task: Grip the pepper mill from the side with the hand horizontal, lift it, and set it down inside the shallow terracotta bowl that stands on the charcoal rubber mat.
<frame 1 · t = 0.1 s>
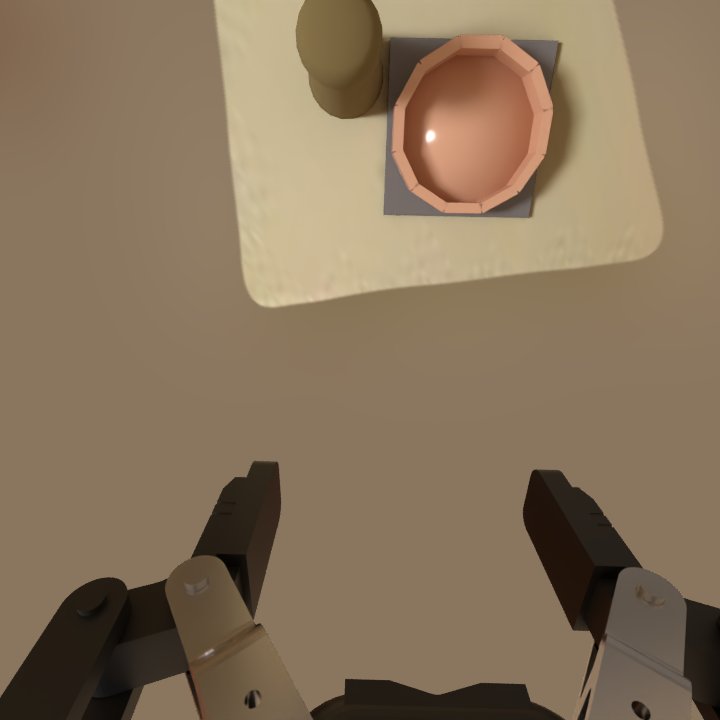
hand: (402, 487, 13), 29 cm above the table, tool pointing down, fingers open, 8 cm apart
mat: (463, 134, 35), on the table
pepper mill: (345, 76, 34), on the table
bowl: (464, 134, 35), resting on mat
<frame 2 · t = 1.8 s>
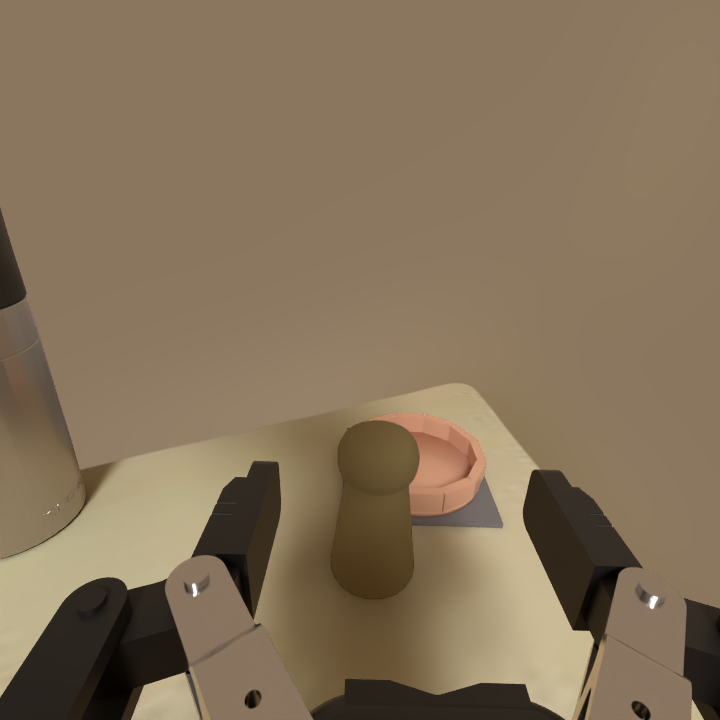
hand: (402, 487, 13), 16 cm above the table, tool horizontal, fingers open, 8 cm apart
mat: (413, 472, 39), on the table
pepper mill: (372, 562, 30), on the table
bowl: (413, 468, 39), resting on mat
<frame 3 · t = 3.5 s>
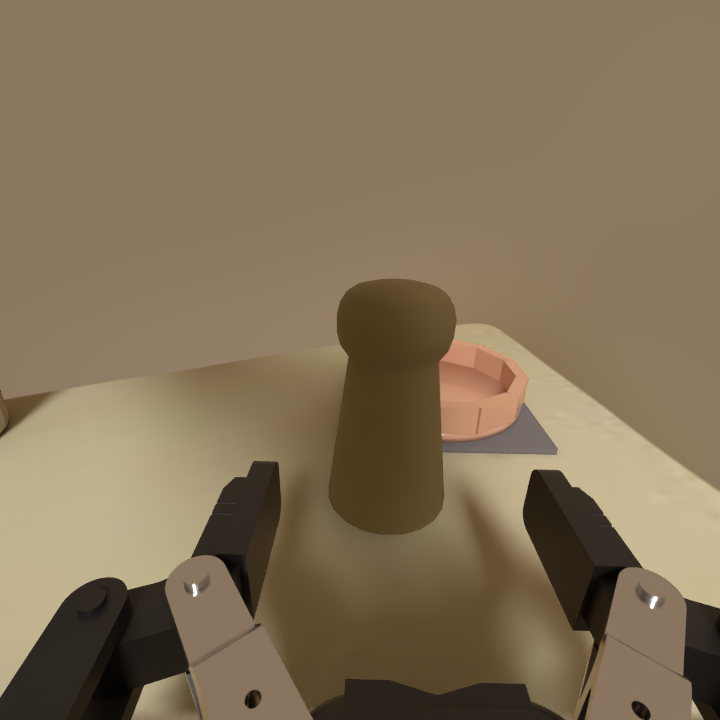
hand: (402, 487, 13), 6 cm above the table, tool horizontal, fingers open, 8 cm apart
mat: (432, 400, 31), on the table
pepper mill: (385, 492, 22), on the table
bowl: (433, 395, 31), resting on mat
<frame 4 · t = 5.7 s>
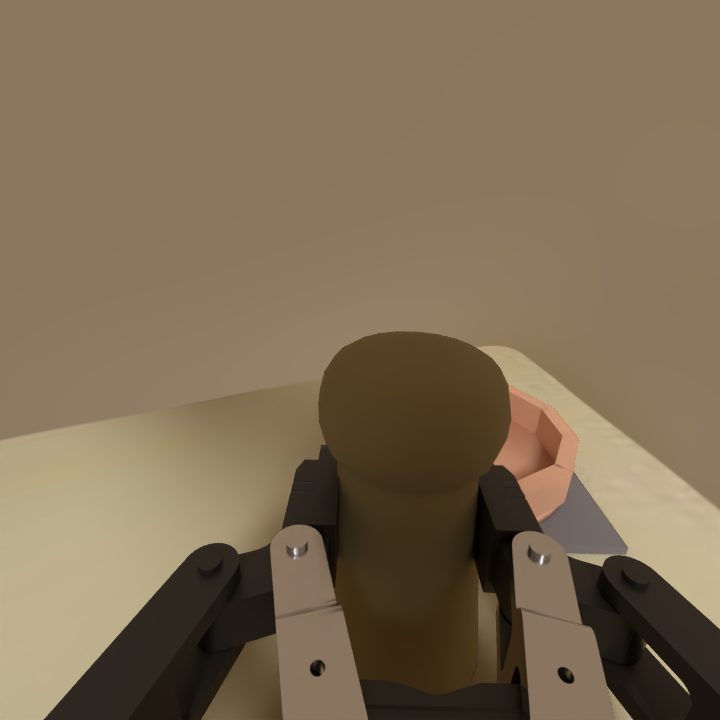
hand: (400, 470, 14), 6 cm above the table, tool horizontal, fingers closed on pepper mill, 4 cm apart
mat: (451, 459, 24), on the table
pepper mill: (393, 629, 15), on the table, touching gripper
bowl: (452, 454, 24), resting on mat
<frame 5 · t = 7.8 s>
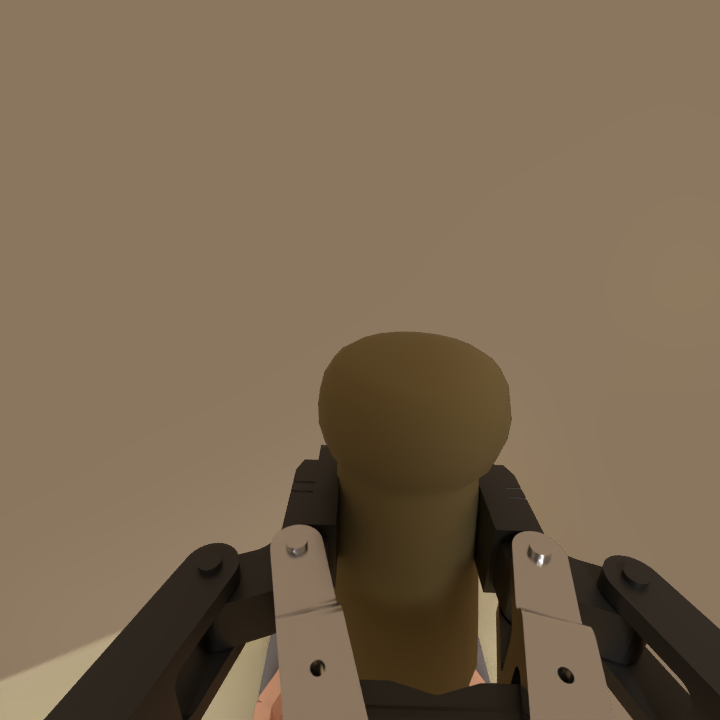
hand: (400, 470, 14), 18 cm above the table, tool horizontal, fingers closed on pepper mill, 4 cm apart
pepper mill: (393, 629, 15), point 11 cm above the table, touching gripper
when the fingers open (7 cm above the table, at t = 10.1 s): pepper mill stays where it is, resting on bowl.
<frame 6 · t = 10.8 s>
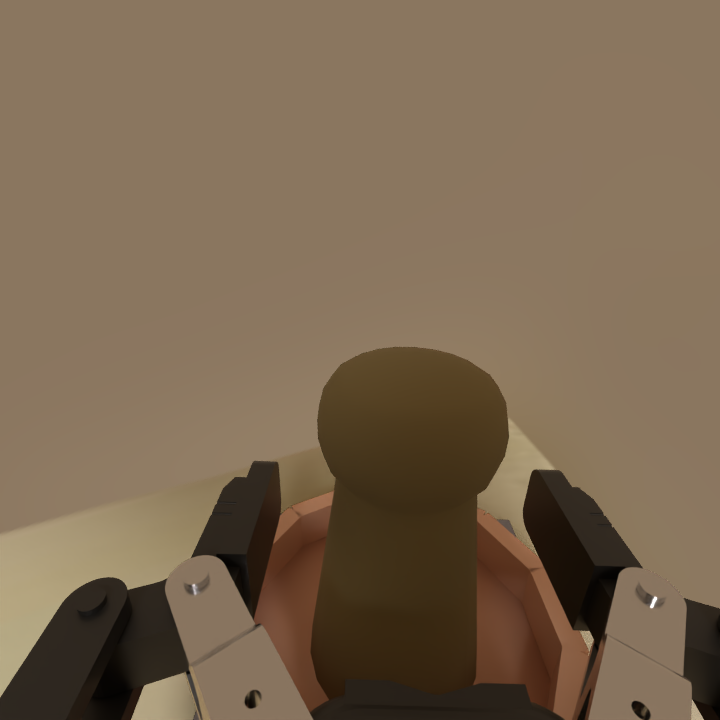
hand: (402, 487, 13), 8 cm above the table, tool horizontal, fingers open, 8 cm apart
pepper mill: (392, 641, 15), point 1 cm above the table, touching bowl
bowl: (391, 644, 16), resting on mat
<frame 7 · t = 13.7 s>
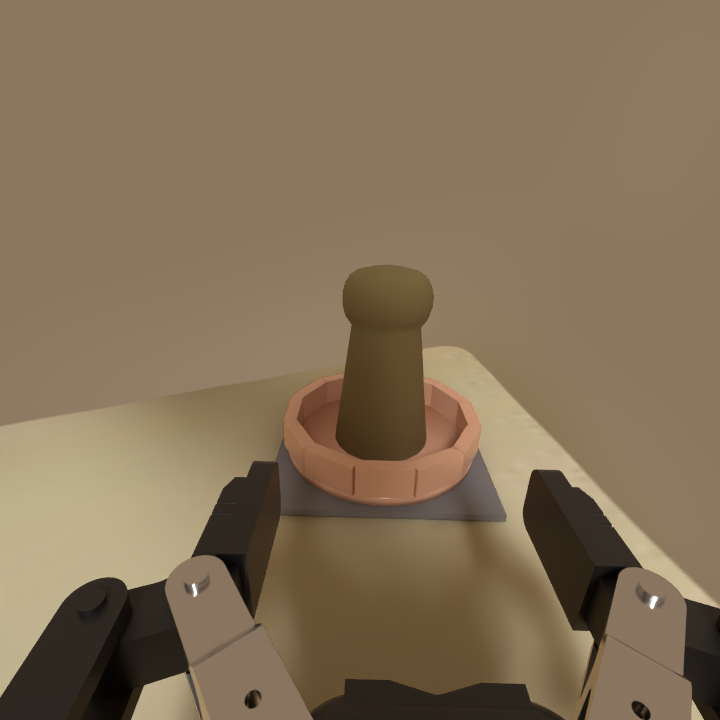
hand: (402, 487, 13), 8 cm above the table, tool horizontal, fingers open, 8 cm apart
mat: (379, 446, 28), on the table
pepper mill: (380, 437, 28), point 1 cm above the table, touching bowl
bowl: (379, 441, 28), resting on mat
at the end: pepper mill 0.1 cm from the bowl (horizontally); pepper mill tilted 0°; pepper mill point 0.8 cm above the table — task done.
